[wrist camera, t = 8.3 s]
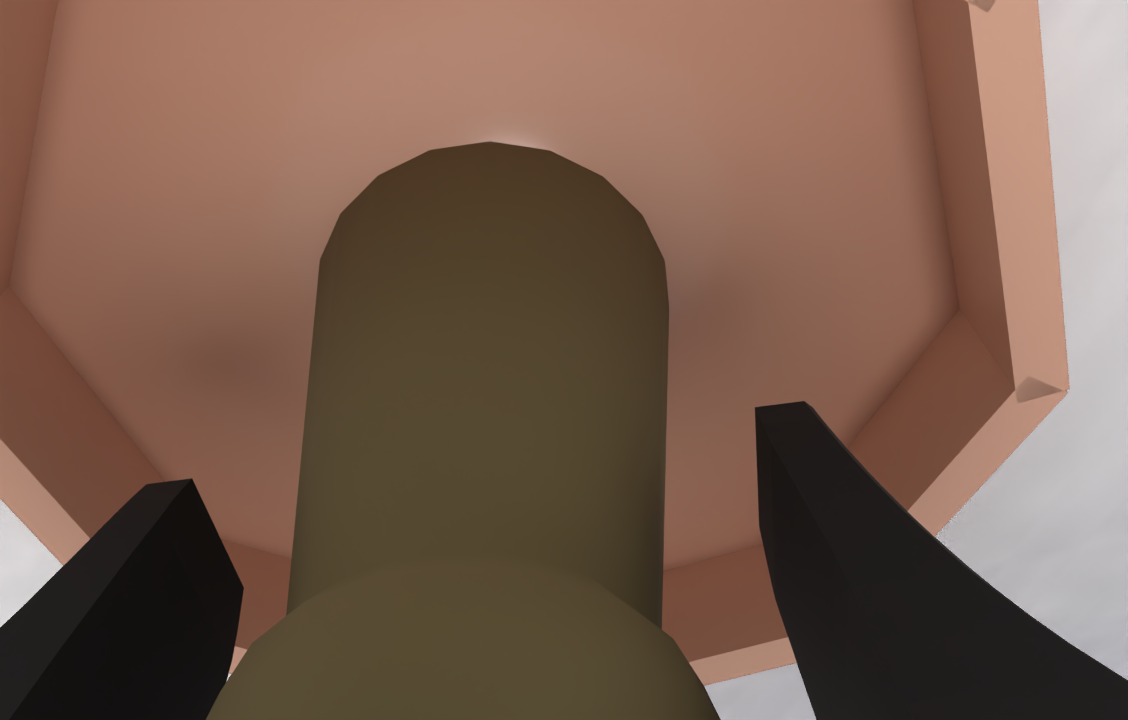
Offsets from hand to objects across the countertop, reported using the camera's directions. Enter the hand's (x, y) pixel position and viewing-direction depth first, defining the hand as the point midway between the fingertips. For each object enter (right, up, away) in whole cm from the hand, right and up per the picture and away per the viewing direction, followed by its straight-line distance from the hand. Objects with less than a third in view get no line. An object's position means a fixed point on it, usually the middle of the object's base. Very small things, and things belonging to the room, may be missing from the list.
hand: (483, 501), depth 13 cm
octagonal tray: (0, +3, +5) cm, 6 cm away
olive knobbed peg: (0, +3, +4) cm, 5 cm away
